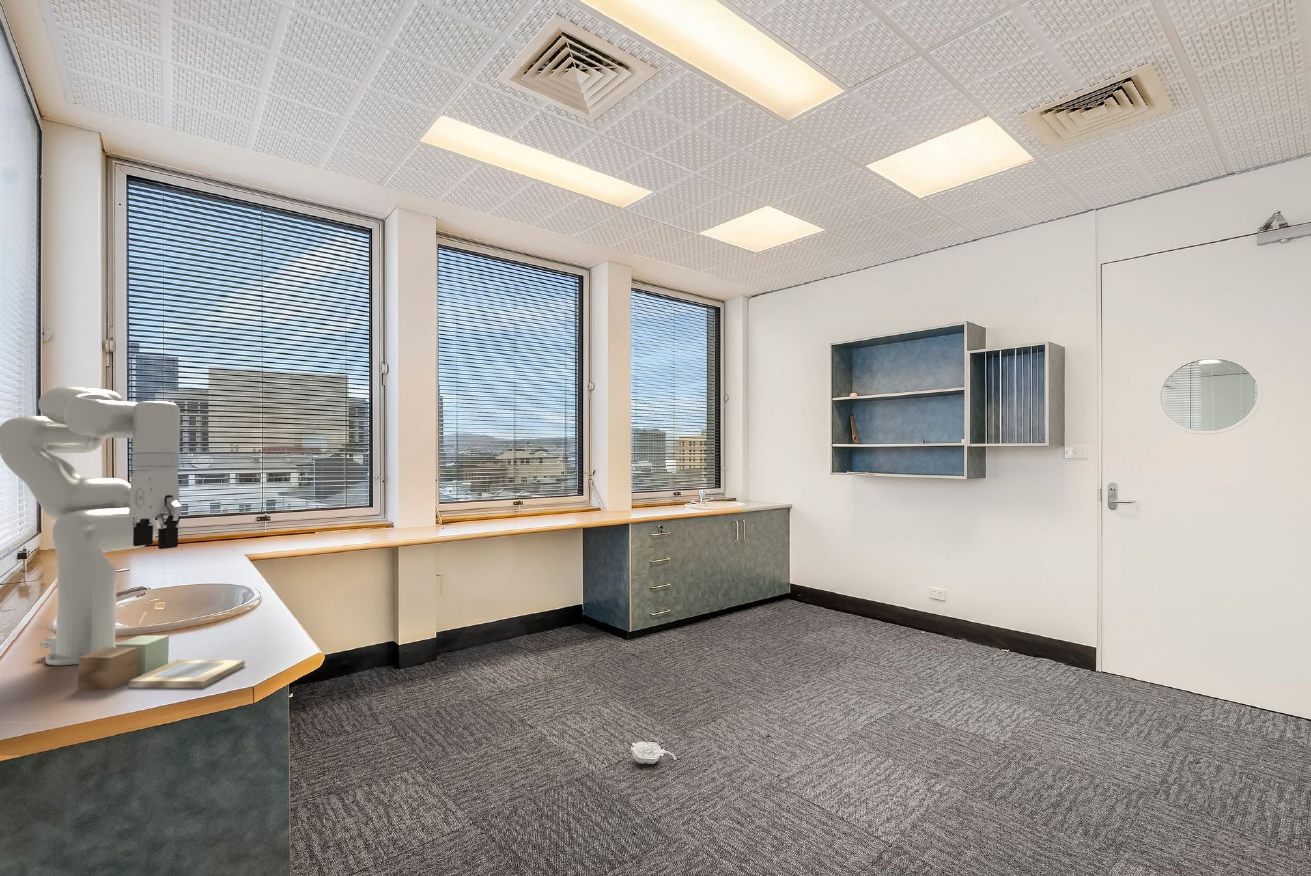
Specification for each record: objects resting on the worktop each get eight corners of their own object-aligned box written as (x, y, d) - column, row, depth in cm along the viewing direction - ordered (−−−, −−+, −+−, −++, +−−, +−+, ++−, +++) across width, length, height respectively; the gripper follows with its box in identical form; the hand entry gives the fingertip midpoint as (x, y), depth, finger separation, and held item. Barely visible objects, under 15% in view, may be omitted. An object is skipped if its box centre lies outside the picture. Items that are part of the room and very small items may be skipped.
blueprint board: (128, 687, 118) (128, 680, 118) (176, 665, 130) (176, 659, 130) (203, 687, 118) (203, 681, 118) (244, 665, 130) (244, 660, 130)
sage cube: (114, 674, 125) (115, 644, 125) (139, 664, 131) (139, 635, 131) (145, 674, 125) (145, 644, 125) (168, 664, 131) (168, 635, 131)
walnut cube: (78, 689, 117) (78, 657, 117) (105, 678, 123) (106, 647, 123) (110, 690, 117) (111, 657, 117) (136, 678, 123) (137, 647, 123)
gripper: (113, 462, 128) (111, 546, 128) (156, 462, 120) (155, 551, 120) (155, 462, 135) (154, 542, 135) (200, 461, 127) (199, 546, 127)
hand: (155, 546), depth 127 cm, fingers open, 9 cm apart
